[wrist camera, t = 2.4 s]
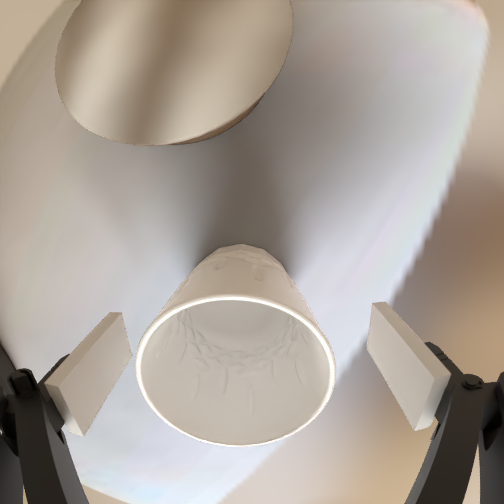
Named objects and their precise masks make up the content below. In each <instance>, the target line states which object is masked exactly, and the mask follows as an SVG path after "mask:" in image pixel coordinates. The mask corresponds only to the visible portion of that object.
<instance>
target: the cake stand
mask: <svg viewBox="0 0 504 504" xmlns="http://www.w3.org/2000/svg"><path fill="white" fill-rule="evenodd" d="M292 33H293V13H292V9H291V4H290V1H289V0H82V2H81V3H80V4H79V5H78V7H77V8H76V9H75V11H74V12H73V14H72V16H71V17H70V19H69V21H68V22H67V25H66V27H65V29H64V31H63V33H62V36H61V39H60V42H59V45H58V49H57V54H56V62H55V77H56V84H57V88H58V92H59V95H60V97H61V100H62V102H63V104H64V106H65V107H66V109H67V110H68V112H69V113H70V115H71V116H72V117H73V118H74V119H75V120H76V121H77V122H78V123H79V124H81V125H82V126H83V127H84V128H86V129H87V130H89V131H91V132H93V133H94V134H96V135H98V136H101V137H104V138H107V139H110V140H113V141H117V142H122V143H127V144H132V145H145V146H154V145H167V144H169V145H179V144H189V143H195V142H199V141H203V140H206V139H209V138H212V137H214V136H217V135H219V134H221V133H223V132H225V131H226V130H228V129H230V128H232V127H233V126H235V125H236V124H237V123H239V122H240V121H242V120H243V119H244V118H245V117H246V116H247V115H248V114H249V113H250V112H251V111H252V110H253V109H254V108H255V107H256V105H257V104H258V103H259V101H260V100H261V98H262V97H263V95H264V94H265V92H266V91H267V90H268V89H269V87H270V86H271V84H272V83H273V82H274V80H275V79H276V77H277V76H278V74H279V72H280V70H281V68H282V66H283V64H284V62H285V59H286V56H287V53H288V50H289V47H290V44H291V40H292Z"/></svg>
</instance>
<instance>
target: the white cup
mask: <svg viewBox="0 0 504 504" xmlns="http://www.w3.org/2000/svg"><path fill="white" fill-rule="evenodd" d="M135 371H136V377H137V381H138V385H139V388H140V390H141V392H142V394H143V396H144V398H145V400H146V401H147V403H148V404H149V405H150V407H151V408H152V409H153V410H154V412H155V413H156V414H157V415H158V416H159V417H160V418H161V419H163V420H164V421H165V422H166V423H167V424H169V425H170V426H172V427H173V428H175V429H176V430H178V431H180V432H181V433H183V434H185V435H187V436H190V437H192V438H194V439H197V440H200V441H203V442H207V443H211V444H215V445H221V446H231V447H248V446H257V445H263V444H268V443H271V442H275V441H278V440H281V439H283V438H286V437H288V436H290V435H292V434H294V433H296V432H298V431H299V430H301V429H302V428H304V427H305V426H306V425H308V424H309V423H310V422H311V421H313V420H314V419H315V418H316V417H317V416H318V415H319V413H320V412H321V411H322V410H323V408H324V407H325V405H326V404H327V402H328V401H329V399H330V397H331V394H332V391H333V389H334V385H335V380H336V363H335V358H334V354H333V351H332V348H331V346H330V344H329V342H328V340H327V338H326V337H325V335H324V333H323V331H322V329H321V328H320V326H319V324H318V322H317V320H316V319H315V317H314V315H313V313H312V311H311V309H310V308H309V306H308V304H307V302H306V301H305V299H304V297H303V295H302V294H301V292H300V291H299V289H298V288H297V286H296V285H295V283H294V282H293V280H292V278H291V277H290V276H289V275H288V274H287V272H286V271H285V269H284V267H283V265H282V264H281V263H280V262H279V261H278V260H276V259H275V258H274V257H273V256H272V255H270V254H269V253H268V252H267V251H265V250H264V249H261V248H257V247H253V246H249V245H245V244H237V245H232V246H227V247H222V248H218V249H217V250H215V251H214V252H213V253H211V254H210V255H209V256H207V257H206V258H205V259H203V260H202V261H201V262H200V263H199V264H198V266H197V267H196V268H195V269H194V270H193V271H192V272H191V273H190V274H189V275H188V276H187V278H186V279H185V280H184V281H183V282H182V283H181V285H180V286H179V287H178V288H177V290H176V291H175V292H174V294H173V295H172V296H171V298H170V299H169V300H168V302H167V303H166V304H165V306H164V307H163V308H162V310H161V311H160V312H159V314H158V315H157V316H156V318H155V319H154V320H153V322H152V323H151V324H150V326H149V327H148V328H147V330H146V331H145V333H144V335H143V336H142V338H141V340H140V343H139V345H138V348H137V352H136V359H135Z"/></svg>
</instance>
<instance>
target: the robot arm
mask: <svg viewBox="0 0 504 504" xmlns="http://www.w3.org/2000/svg"><path fill="white" fill-rule="evenodd" d="M366 348H367V349H368V351H369V353H370V355H371V356H372V358H373V360H374V361H375V363H376V365H377V366H378V368H379V370H380V372H381V373H382V375H383V377H384V378H385V380H386V382H387V383H388V385H389V387H390V389H391V391H392V392H393V394H394V396H395V398H396V399H397V401H398V403H399V405H400V406H401V408H402V410H403V412H404V414H405V415H406V417H407V419H408V421H409V423H410V424H411V426H412V428H413V430H414V431H417V430H420V429H423V428H427V427H430V425H431V423H432V421H433V418H434V416H435V417H436V419H437V420H438V422H439V423H438V425H437V427H436V429H435V431H434V433H433V435H432V437H431V440H432V441H431V444H430V446H429V449H428V452H427V454H426V457H425V459H424V462H423V464H422V467H421V469H420V472H419V474H418V476H417V478H416V481H415V483H414V485H413V487H412V489H411V491H410V493H409V496H408V498H407V500H406V502H405V504H462V502H463V500H464V497H465V493H466V490H467V486H468V483H469V479H470V476H471V472H472V467H473V463H474V459H475V454H476V450H477V445H478V447H479V460H480V504H504V372H502V373H501V374H500V376H499V378H498V380H497V382H490V383H484V382H483V380H482V379H481V378H479V377H478V376H475V375H472V374H463V373H462V372H461V371H460V370H459V369H458V367H457V366H456V365H455V364H454V363H453V362H452V361H451V360H450V359H448V357H447V356H446V355H445V354H444V352H443V351H442V350H441V349H440V348H439V347H438V346H436V345H434V344H432V343H431V342H426V343H423V341H421V339H420V338H419V337H418V336H417V335H416V334H415V333H414V332H413V331H412V329H411V328H410V327H409V326H408V325H407V324H406V323H405V322H404V321H403V320H402V319H401V318H400V317H399V316H398V315H397V314H396V312H395V311H394V310H393V309H392V308H391V307H390V306H389V305H388V304H387V303H386V302H378V303H372V309H371V318H370V326H369V333H368V341H367V347H366ZM132 356H133V355H132V352H131V348H130V344H129V340H128V336H127V332H126V328H125V324H124V320H123V315H122V313H119V312H110V313H109V314H108V315H107V316H106V317H105V318H104V319H103V320H102V321H101V322H100V323H99V324H98V325H97V326H96V327H95V328H94V329H93V330H92V331H91V332H90V333H89V334H88V335H87V337H86V338H85V339H84V340H83V341H82V342H81V343H80V344H79V345H78V346H77V347H76V348H75V349H74V350H73V352H72V353H71V354H68V355H66V356H64V357H63V358H61V359H60V360H59V361H58V362H57V363H56V364H55V366H53V367H52V368H51V371H49V372H48V373H47V374H46V375H45V376H44V377H43V378H42V379H41V381H40V382H39V383H38V384H37V382H36V380H35V378H34V375H33V373H32V371H31V370H29V369H25V368H23V369H18V370H15V369H14V367H13V365H12V364H11V362H10V360H9V358H8V357H7V355H6V354H5V352H4V351H3V349H2V348H1V346H0V429H1V431H2V435H1V432H0V504H23V484H24V489H25V493H26V498H27V502H28V504H89V502H88V500H87V498H86V495H85V493H84V490H83V488H82V485H81V483H80V480H79V478H78V475H77V472H76V469H75V467H74V464H73V461H72V458H71V455H70V452H69V448H68V445H67V442H66V438H65V435H64V433H63V431H62V429H61V428H62V426H63V425H64V423H65V425H66V426H67V428H68V430H69V431H70V433H73V434H77V435H81V436H85V434H86V432H87V431H88V429H89V427H90V425H91V424H92V422H93V420H94V418H95V417H96V415H97V413H98V412H99V410H100V408H101V407H102V405H103V403H104V402H105V400H106V398H107V396H108V395H109V393H110V391H111V390H112V388H113V387H114V385H115V383H116V382H117V380H118V378H119V377H120V375H121V373H122V372H123V370H124V369H125V367H126V365H127V364H128V362H129V361H130V359H131V357H132Z"/></svg>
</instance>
